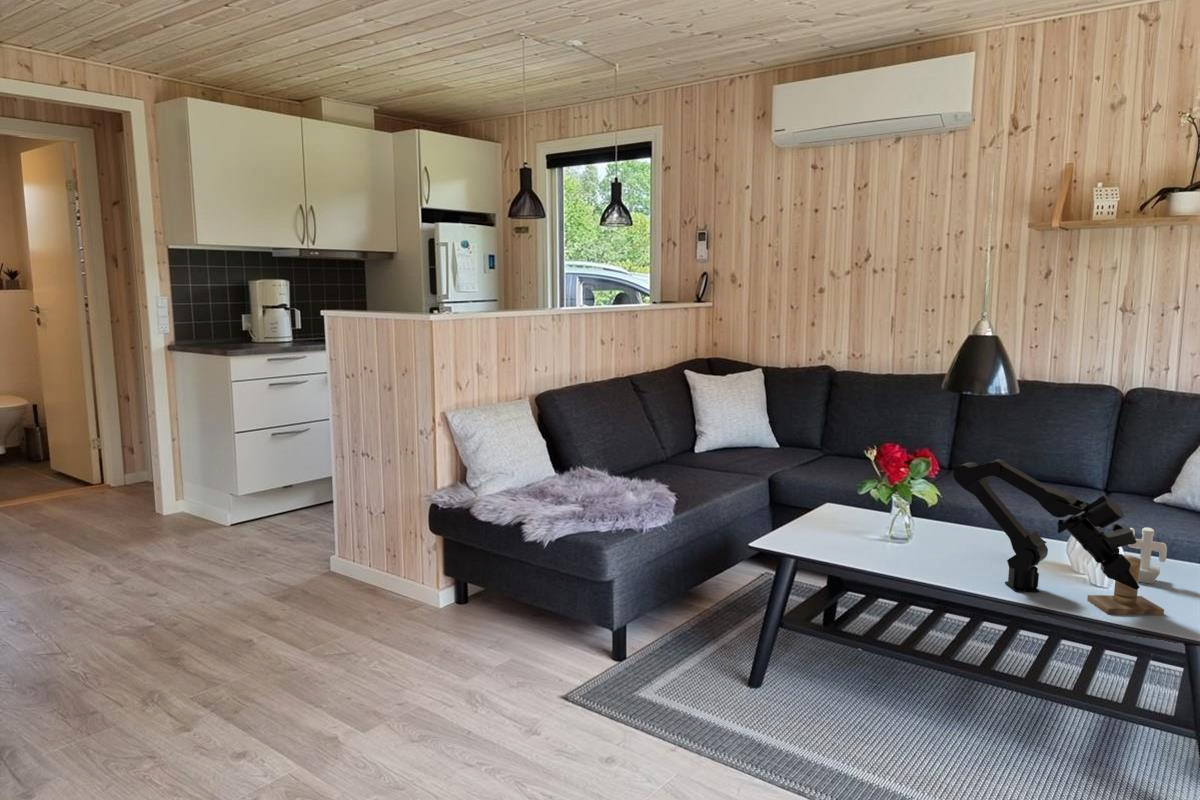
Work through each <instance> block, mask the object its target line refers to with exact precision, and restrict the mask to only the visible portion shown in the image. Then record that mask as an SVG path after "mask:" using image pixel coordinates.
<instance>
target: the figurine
mask: <svg viewBox="0 0 1200 800" xmlns="http://www.w3.org/2000/svg"><path fill="white" fill-rule="evenodd" d="M1129 528H1130V529H1131V530H1132V532H1133V534H1134V537H1135V539H1136V541H1137V542H1136V543H1135V544H1132V545H1131V544H1129V545H1127V546H1128V548H1132V549H1137V550H1140V557H1139V559H1141V564H1140V573H1139V582H1141V583H1146V584H1151V585H1153V583H1154V582H1155V581H1156V579H1158V577H1159V575H1161V574H1160V571H1161V566H1159V565H1153V564H1151V560H1152V559H1151V558H1152V552H1156V553H1158V560H1159V562H1161V563H1165V562H1166V561H1167V553H1168V546H1167V544H1166V543H1165V542H1161V541H1160V542H1159V541H1154V540H1153V539H1154V536H1155V530H1154V529H1153V528H1152V527H1148V526H1147V527H1143V528H1142V529H1141V535H1142V537H1141V538H1136V535H1135V533H1136V530H1135V528H1133V527H1129Z"/></svg>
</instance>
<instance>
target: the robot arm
mask: <svg viewBox="0 0 1200 800" xmlns="http://www.w3.org/2000/svg"><path fill="white" fill-rule="evenodd" d="M991 476H995V477H998V478H999V479H1001V480H1002V481H1004V482H1005V483H1007V484H1009V485H1011V486H1013V487H1014V488H1016V489H1017V490H1019V491H1021V492H1023V493H1024V494H1027V496H1029V497H1031V498H1032V499H1034V500H1035V501H1037V502H1038V504H1039V505H1040V506H1041V507H1042V508H1043V510H1045V511H1046V512H1048V513H1049V514H1050V515H1051V516H1053V517H1055V518H1066V517H1067V516H1069V517H1068V518H1066V519H1058V520H1057V530H1056V531H1057V533H1058V534H1060V533H1063V532H1065V531H1067V532H1068V533H1069V534H1070V535H1071V536H1072V537H1073V538H1074V539H1075V541H1077V542H1078V544H1080V546H1081V547H1082V548H1083V550H1085V551H1086V552H1087V553H1088V554H1089V555H1090V556H1091V557H1092V558H1093V559H1094V561H1095V562H1096V563H1097V564H1100V571H1102V573H1103V574H1104V576H1106V578H1108V579H1110V580H1113V581H1114V582H1115V581H1118V582H1120V583H1122V584H1125V585H1127V586H1129V587H1131V588H1133V589H1135V590H1137V589H1138V590H1139V589H1140V586H1139V583H1138V584H1137V582H1136V581H1135V579H1134V578H1133V576H1132V575H1131V573H1130V571H1129V570H1130V567H1131V563H1130V562H1129V561H1128V560H1127V559H1126V558H1125V556H1124V555H1125V554H1122V553H1120V548H1122V547H1125V546H1128V545H1129V544H1131V545H1132V544H1135V543H1136V542H1137V541H1136V539H1137V538H1136V536H1135V537H1134V534H1133V532H1132V530H1131V529H1130V528H1131V527H1129V526H1124V527H1123V526H1122V525H1121V524H1120V523H1115V522H1118V521H1119V520H1122V519H1123V518H1124V517H1125V513H1124V511H1123V509H1122V508H1121V506H1120V505H1119V504H1118V503H1116V502H1115V501H1114V500H1112V499H1111V498H1109V497H1108V496H1107V495H1106V494H1102V496H1100V497H1098V498H1097V499H1096V500H1094V501H1093V502H1090V503H1089V502H1086V501H1083V500H1080V499H1078V498H1077V497H1076V496H1075V495H1073V494H1072V493H1070V492H1067V491H1065V490H1061V489H1059V488H1055V487H1052V486H1049V485H1045V484H1044V483H1042V482H1040V481H1038V480H1037V479H1035V478H1033V477H1031V476H1030V475H1029V474H1026V473H1024V472H1023V471H1021V470H1019V469H1017V468H1015V467H1014V466H1012V465H1010V464H1009V463H1007V462H1006V461H1005V460H1004V459H999V458H997V459H995V460H992V461H987V462H986V461H985V462H982V463H976V462H972V461H970V462H966V463H963V464H960V465H958V466H956V467H955V468H954V469H953V473H952V477H953V480H954V481H955V483H957V484H958V485H959V487H961V488H962V489H963V490H965V492H966V491H967V493H969V494H971V495H973V496H974V497H975V498H976V499H977V500H978V502H979V503H980V504H981V506H982V507H983V508H984V509H985V510H986V512H988V514H989V515H990V517H992V519H993V520H994V521H995V522H996V524H997V525H998V526H999V527H1000V529H1001V530H1002V531H1003V532H1004V533H1005V535H1006V536H1007V537H1008V539H1009V541H1010V544H1011V545H1010V546H1011V547H1012V550H1013V552H1014V554H1015V555H1012V557H1009V558H1008V559H1007V560H1006V562H1007V566H1008V575H1007V576H1008V577H1007V578H1008V579H1007V581H1006V580H1005V581H1004V584H1005V585H1006V586H1007V587H1009V588H1011V590H1013V591H1014V592H1022V593H1023V592H1026V593H1028V592H1029V593H1032V592H1033V593H1038V592H1040V589H1039V588H1038V587H1039V578H1040V577H1039V576H1040V573H1039V572H1038V570H1039V568H1038V567H1037V566H1038V565H1039V563H1040V562H1042V561H1043V560H1045V559H1046V557H1048V554H1049V553H1048V552H1049V549H1048V546H1047V545H1046V544H1047V541H1046V540H1044V539H1043V538H1042V537H1041V535H1040V534H1039V533H1038V531H1037V530H1034V531H1032V532H1031V531H1029V530H1027V529H1026V528H1024V526H1023V525H1022V524H1021V523H1020V522H1019V521H1018V519H1017V518H1016V517H1015V516H1014V514H1013V513H1012V512H1011V511H1010V509H1009V508H1007V506H1006V505H1005V504H1004V502H1003V501H1002V500H1001V499H1000V498H999V496H998V495H997V494H996V493H995V491H994V490H993V489H992V488H991V487H990V483H989V481H988V477H991ZM1108 526H1111V530H1109V532H1106V533H1105V532H1104V531H1102V530H1100V529H1098V527H1099V528H1101V529H1104V528H1106V527H1108ZM1135 538H1136V539H1135Z"/></svg>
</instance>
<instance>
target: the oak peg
mask: <svg viewBox="0 0 1200 800" xmlns="http://www.w3.org/2000/svg"><path fill="white" fill-rule="evenodd" d="M1123 555H1124V556H1125V558H1126V559H1127V560H1128V561H1129V562H1130V563H1131V567H1130V570H1129V571H1130V573H1131V575H1132V576H1133V578H1134V579H1135V581H1136V582H1137V584H1138V585H1139V573H1140V564H1141V559H1140V557H1136V556H1133V555H1127V554H1126V555H1125V554H1123ZM1138 591H1139V589H1137V590H1135V589H1133V588H1131V587H1129V586H1127V585H1125V584H1122V583H1120V582H1118V581H1115V580H1114V589H1113V596H1114V598H1113V601H1114V602H1116V603H1118V604H1121V605H1127V606H1134V605H1136V602H1137V596H1138Z"/></svg>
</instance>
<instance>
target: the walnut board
mask: <svg viewBox="0 0 1200 800" xmlns="http://www.w3.org/2000/svg"><path fill="white" fill-rule="evenodd" d="M1113 598H1114V595H1105V594H1104V595H1101V594H1100V595H1098V594H1088V595H1087V602H1089V603H1091V605H1093V604H1094V605H1093V606H1095V607H1096V606H1097V607H1096V608H1098V609H1099V610H1100V611H1102V612H1104V613H1105V614H1107V615H1129V616H1130V615H1133V616H1135V615H1136V616H1137V615H1138V616H1139V615H1140V616H1142V615H1144V616H1164V614H1165V609H1164V608H1163V607H1161V606H1159V605H1157V604H1155V602H1152V601H1150V600H1149V599H1147V598H1145V597H1144V596H1142V595H1137V602H1136V605H1134V606H1127V605H1121V604H1118V603H1116V602H1114V601H1113Z"/></svg>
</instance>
